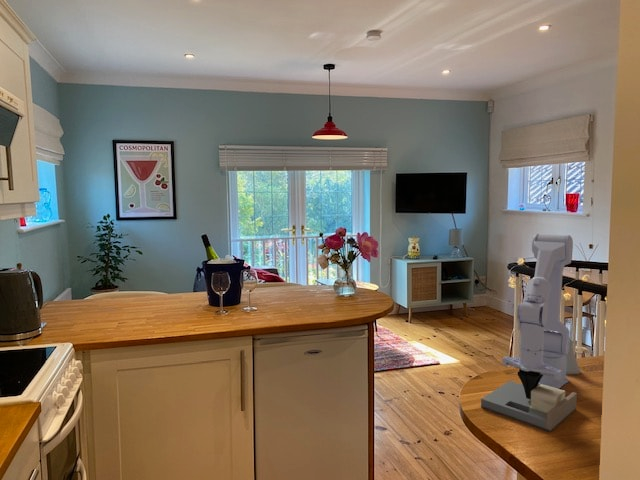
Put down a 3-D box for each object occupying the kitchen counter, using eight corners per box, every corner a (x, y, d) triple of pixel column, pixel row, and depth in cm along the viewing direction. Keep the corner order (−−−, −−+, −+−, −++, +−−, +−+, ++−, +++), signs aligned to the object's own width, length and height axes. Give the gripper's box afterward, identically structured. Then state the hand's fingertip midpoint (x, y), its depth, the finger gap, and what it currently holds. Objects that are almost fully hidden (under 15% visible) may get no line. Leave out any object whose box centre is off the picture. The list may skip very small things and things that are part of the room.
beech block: (540, 398, 126) (541, 383, 126) (564, 405, 122) (565, 390, 121) (530, 405, 122) (531, 391, 122) (554, 413, 118) (555, 398, 117)
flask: (583, 376, 145) (584, 344, 144) (557, 374, 147) (558, 343, 146) (576, 367, 152) (577, 336, 151) (552, 365, 154) (552, 335, 153)
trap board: (509, 389, 138) (509, 374, 137) (576, 409, 125) (576, 393, 124) (481, 407, 127) (481, 391, 127) (550, 432, 114) (550, 414, 113)
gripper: (497, 344, 126) (496, 393, 128) (553, 358, 116) (552, 412, 117) (510, 338, 131) (509, 385, 133) (565, 351, 120) (563, 402, 122)
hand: (530, 397), depth 125 cm, fingers closed
